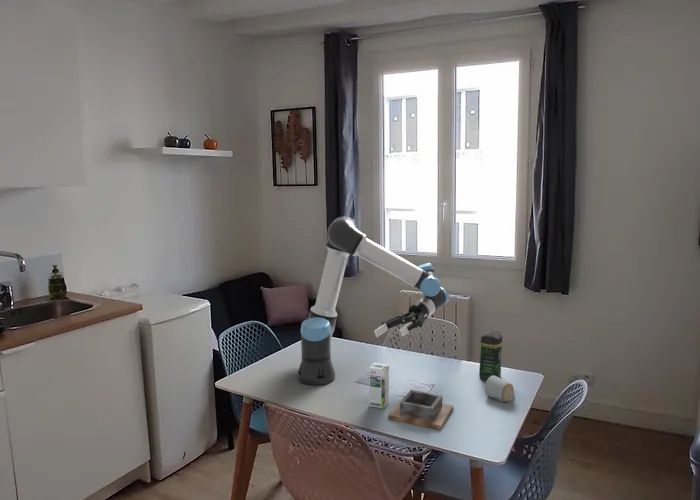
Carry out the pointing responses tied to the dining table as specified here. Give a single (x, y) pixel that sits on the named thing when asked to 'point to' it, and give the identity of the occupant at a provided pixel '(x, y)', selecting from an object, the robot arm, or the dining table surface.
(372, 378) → the syrup box
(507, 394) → the ceramic mug
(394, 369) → the dining table surface
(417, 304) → the robot arm
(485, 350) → the coffee jar
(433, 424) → the socket board
